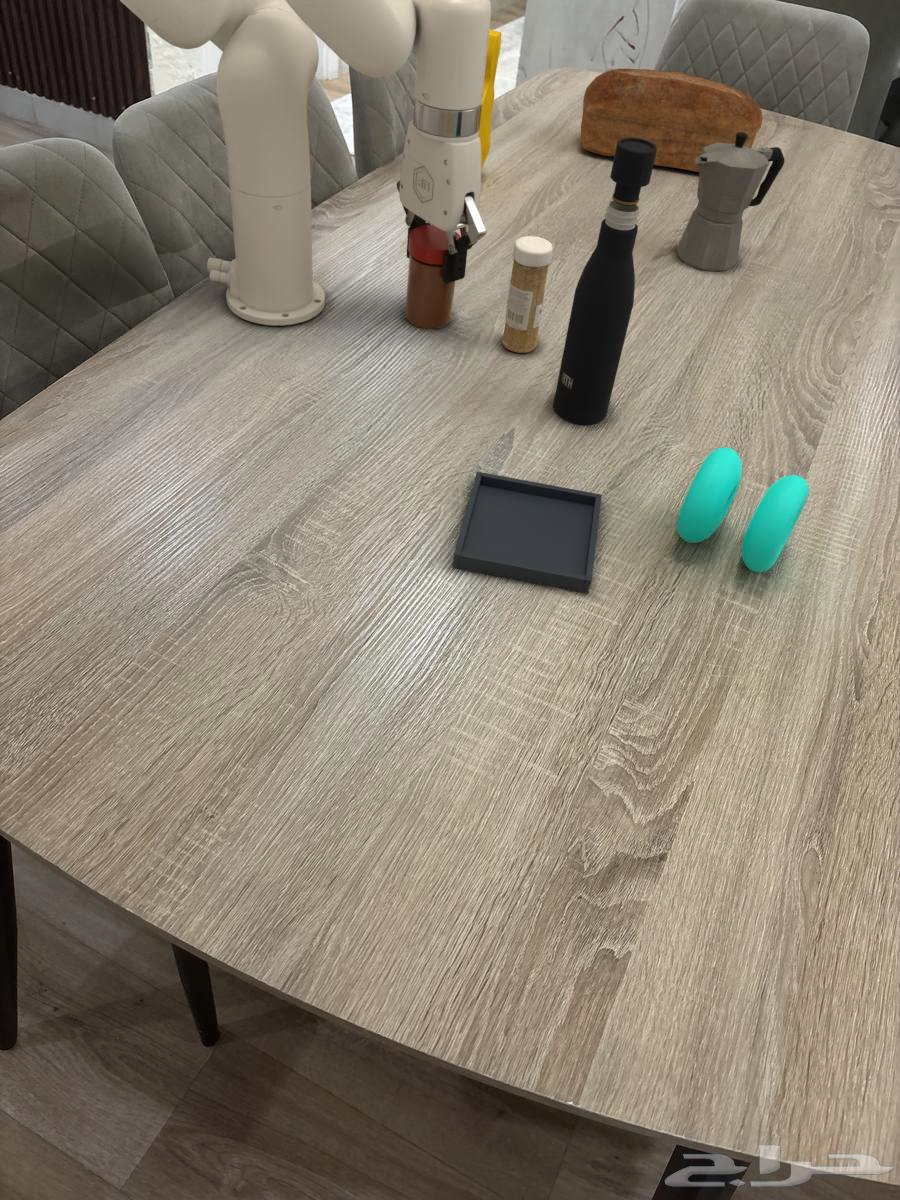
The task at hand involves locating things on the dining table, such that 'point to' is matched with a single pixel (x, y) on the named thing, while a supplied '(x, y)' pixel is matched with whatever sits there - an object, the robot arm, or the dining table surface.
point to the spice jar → (526, 293)
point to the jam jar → (428, 295)
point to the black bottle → (604, 295)
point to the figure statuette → (488, 92)
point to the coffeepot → (725, 201)
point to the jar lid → (428, 244)
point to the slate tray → (529, 532)
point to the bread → (665, 114)
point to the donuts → (714, 500)
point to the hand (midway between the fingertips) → (435, 266)
